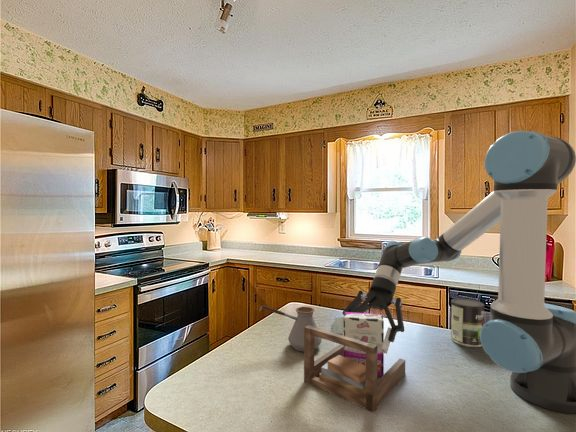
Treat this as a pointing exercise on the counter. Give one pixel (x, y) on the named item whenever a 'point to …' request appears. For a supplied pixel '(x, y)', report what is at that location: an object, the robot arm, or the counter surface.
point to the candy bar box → (365, 336)
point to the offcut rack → (312, 369)
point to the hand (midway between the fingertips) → (363, 345)
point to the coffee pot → (299, 326)
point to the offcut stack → (345, 374)
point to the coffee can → (467, 322)
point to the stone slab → (338, 326)
